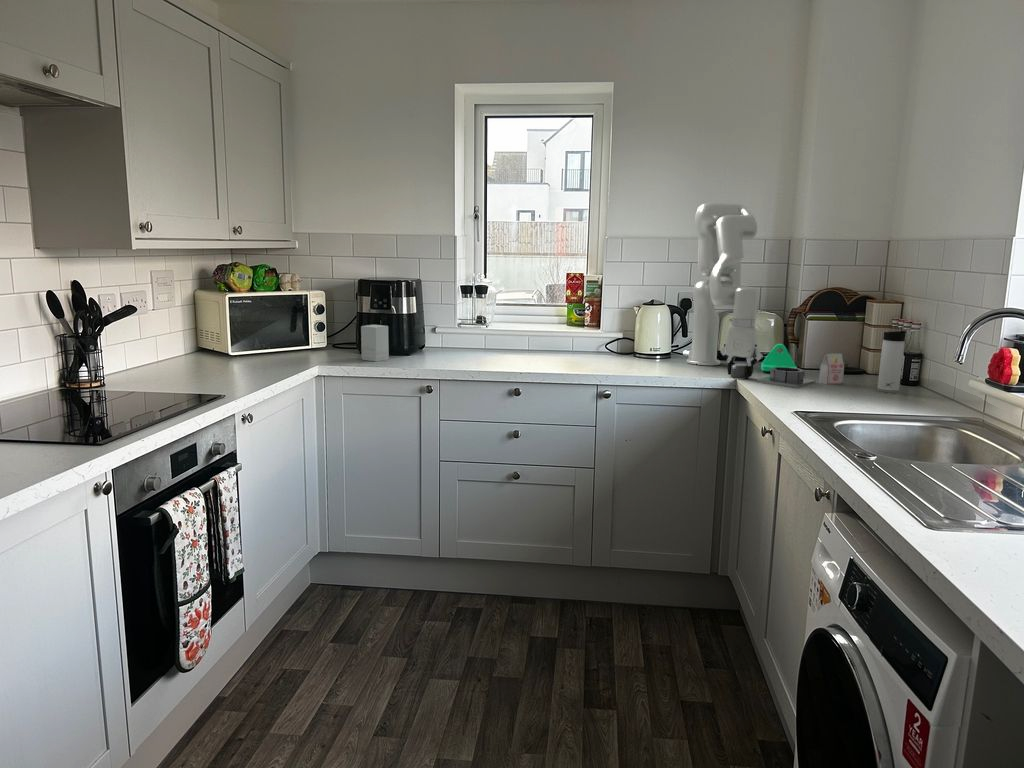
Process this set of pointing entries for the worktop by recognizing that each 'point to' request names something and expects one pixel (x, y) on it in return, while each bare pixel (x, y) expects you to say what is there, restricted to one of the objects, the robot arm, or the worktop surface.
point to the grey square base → (787, 377)
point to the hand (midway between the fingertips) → (739, 375)
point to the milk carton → (831, 369)
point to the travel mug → (891, 362)
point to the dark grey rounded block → (738, 370)
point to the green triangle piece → (777, 359)
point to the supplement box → (374, 342)
